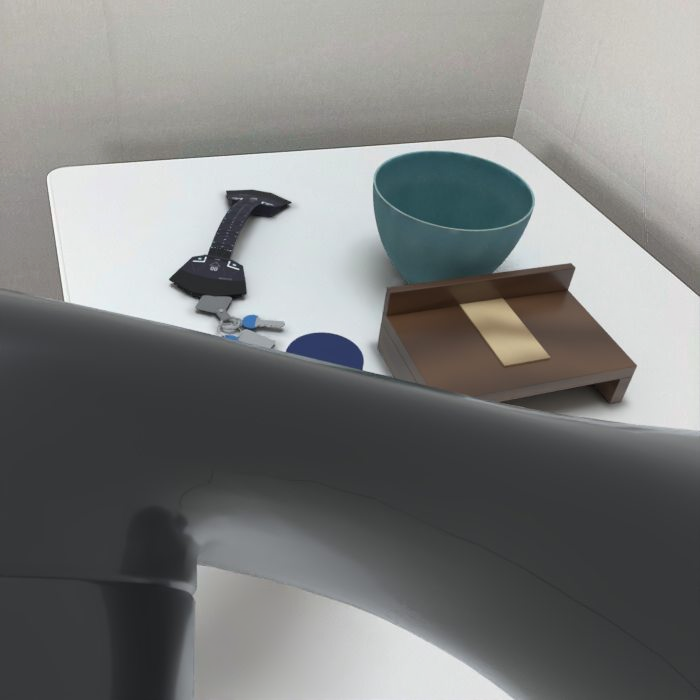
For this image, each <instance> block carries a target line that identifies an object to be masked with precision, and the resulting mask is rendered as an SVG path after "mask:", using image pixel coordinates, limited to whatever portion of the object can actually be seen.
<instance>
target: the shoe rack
mask: <svg viewBox="0 0 700 700" xmlns="http://www.w3.org/2000/svg"><path fill="white" fill-rule="evenodd" d="M575 271H576V266H575V265H573V263H572V262H568V263H561V264H553V265H545V266H538V267H530V268H522V269H516V270H515V269H514V270H507V271H500V272H493V273H492V274H484V275H476V276H469V277H461V278H454V279H446V280H439V281H431V282H423V283H416V284H409V283H407V284H402V285H395V286H387V287H386V289H385V296H384V302H383V309H382V315H381V322H380V327H379V332H378V338H377V339H378V340H377V346H376V348H377V350H378V352H379V354H380V355H381V358H382V359H383V361H384V362H385V364H386V366H387V368H388V370H389V371H390V373H391V375H392V377H393V378H397V379H401V380H405V381H410V382H414V383H418V384H422V385H426V386H430V387H435V388H439V389H443V390H447V391H451V392H455V393H459V394H464V395H468V396H472V397H477V398H482V399H486V400H491V401H495V402H500V403H503V402H506V401H507V402H508V401H511V400H516V399H522V398H528V397H532V396H538V395H543V394H548V393H554V392H559V391H563V390H569V389H574V388H579V387H580V388H581V387H586V386H590V385H593V386H594V387H595V388H596V389H597V390H598V391H599V393H600V394H601V395H602V396H603V398H604V399H605V400H606V401H607V403H608V404H615V403H621V402H622V401H623V399H624V396H625V394H626V393H627V390H628V387H629V386H630V384H631V381H632V379H633V376H634V374H635V372H636V370H637V367H638V365H637V364H636V362H635V361H634V360H633V359H632V358H631V357H630V356H629V355H628V354H627V353H626V351H624V350H623V348H622V347H621V346H620V345H619V344H618V342H617V341H615V340H614V339H613V337H612V336H611V335H610V334H609V333H608V332H607V331H606V330H605V329H604V328H603V326H602V325H601V324H600V323H599V322H598V321H597V320H596V319H595V318H594V317H593V315H591V313H590V312H589V311H588V310H587V309H586V308H585V307H584V306H583V304H582V303H581V302H580V301H579V300H578V299H577V298H576V297H575V296H574V294H572V293H571V291H570V290H569V288H570V286H571V282H572V280H573V277H574V274H575Z"/></svg>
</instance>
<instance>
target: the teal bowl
mask: <svg viewBox="0 0 700 700" xmlns="http://www.w3.org/2000/svg"><path fill="white" fill-rule="evenodd" d="M372 178H373V179H372V180H373V181H372V200H373V201H372V204H373V205H372V206H373V213H374V214H373V215H374V220H375V224H376V228H377V232H378V235H379V238H380V241H381V244H382V246H383V249H384V251H385V253H386V255H387V257H388V259H389V261H390V262H391V263H392V265H393V266H394V268H395V269H396V270H397V272H398V273H399V274H400V276H401V277H402V278H403V280H404V281H405V282H406V283H407V284H416V283H423V282H431V281H439V280H446V279H454V278H461V277H469V276H476V275H484V274H492V273H495V271H496V270H497V269H498V268H499V267H500V266H501V265H503V263H504V262H505V261H506V260H507V258H508V257H509V256H510V255H511V253H512V252H513V250H514V249H515V248H516V247H517V245H518V244H519V242H520V240H521V238H522V237H523V235H524V232H525V231H526V229H527V227H528V224H529V222H530V221H531V218H532V215H533V212H534V208H535V205H536V197H535V194H534V192H533V190H532V188H531V186H530V185H529V184H528V183H527V181H525V180H524V179H523V178H522V177H521V176H520V175H519V174H517V173H516V172H514V171H513V170H512V169H510V168H508V167H505V165H502V164H500V163H497V162H495V161H493V160H489V159H487V158H484V157H481V156H477V155H474V154H469V153H463V152H457V151H453V150H452V151H451V150H418V151H410V152H405V153H402V154H398V155H396V156H393V157H390V158H388V159H387V160H385V161H384V162H382V163H381V164H380V165H379V166H378V167H377V168H376V170H375V172H374V173H373V177H372Z"/></svg>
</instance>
